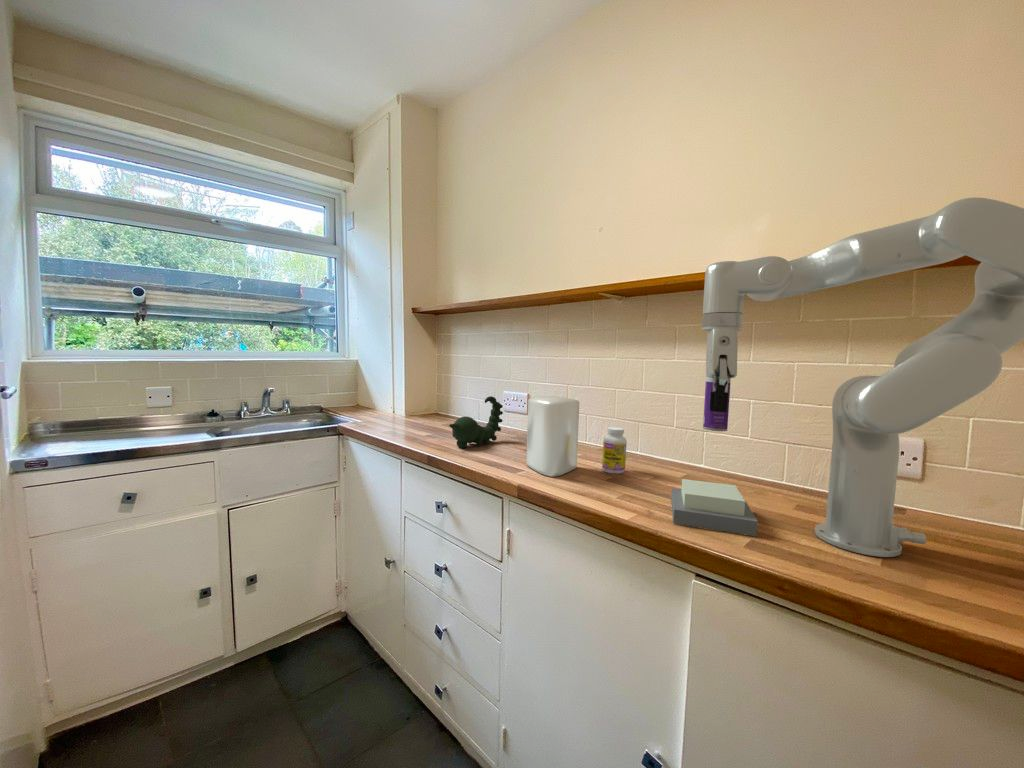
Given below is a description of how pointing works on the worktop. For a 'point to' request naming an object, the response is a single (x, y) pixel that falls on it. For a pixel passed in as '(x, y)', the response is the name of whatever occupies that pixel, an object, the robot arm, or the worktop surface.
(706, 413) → the container
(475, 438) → the toy figurine
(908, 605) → the worktop surface
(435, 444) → the worktop surface
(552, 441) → the white rounded canister
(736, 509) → the tower base
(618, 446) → the supplement bottle
